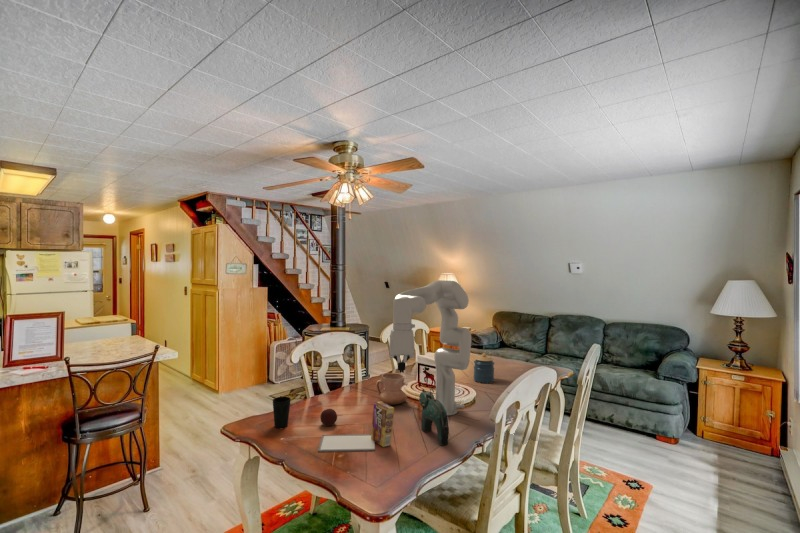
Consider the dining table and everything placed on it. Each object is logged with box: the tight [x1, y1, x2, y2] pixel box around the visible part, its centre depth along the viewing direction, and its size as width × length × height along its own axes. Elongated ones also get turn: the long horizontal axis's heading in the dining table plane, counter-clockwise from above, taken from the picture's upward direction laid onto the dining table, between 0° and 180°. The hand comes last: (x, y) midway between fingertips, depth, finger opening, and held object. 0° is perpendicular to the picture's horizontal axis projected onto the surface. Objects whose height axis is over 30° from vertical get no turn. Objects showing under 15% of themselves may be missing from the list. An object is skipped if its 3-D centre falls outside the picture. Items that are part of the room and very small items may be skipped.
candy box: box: [370, 400, 395, 448], centre depth 161 cm, size 9×4×15 cm, turn 39°
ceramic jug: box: [375, 372, 409, 406], centre depth 209 cm, size 18×14×14 cm
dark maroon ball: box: [320, 408, 338, 427], centre depth 178 cm, size 7×8×7 cm
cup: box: [272, 396, 291, 430], centre depth 175 cm, size 8×8×12 cm
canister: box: [473, 352, 495, 384], centre depth 251 cm, size 13×13×18 cm
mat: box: [317, 433, 376, 453], centre depth 160 cm, size 22×14×1 cm, turn 94°
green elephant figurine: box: [418, 387, 450, 447], centre depth 168 cm, size 20×6×20 cm, turn 23°
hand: (401, 371), depth 161 cm, fingers closed
